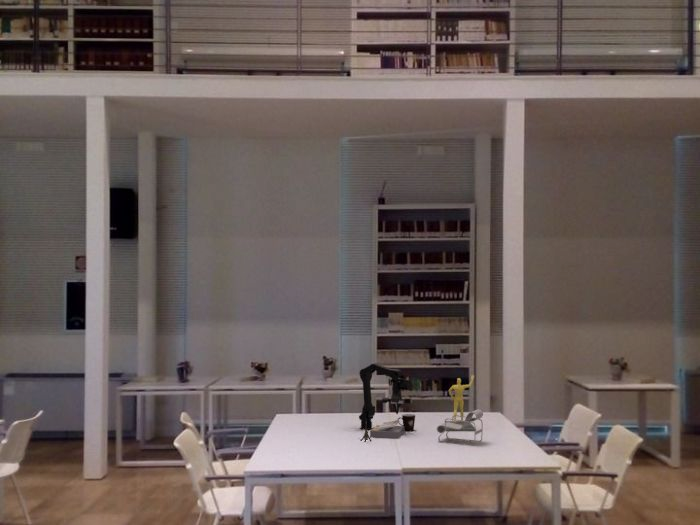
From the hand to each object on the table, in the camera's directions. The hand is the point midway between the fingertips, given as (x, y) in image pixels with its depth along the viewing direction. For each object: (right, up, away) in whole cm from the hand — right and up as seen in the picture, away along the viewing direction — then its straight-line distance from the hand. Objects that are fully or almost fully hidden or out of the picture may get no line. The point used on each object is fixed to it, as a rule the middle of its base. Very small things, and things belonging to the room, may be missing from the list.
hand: (397, 414), depth 515 cm
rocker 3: (-7, -5, -13) cm, 16 cm away
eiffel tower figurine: (-21, -12, -25) cm, 35 cm away
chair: (+36, -12, -29) cm, 48 cm away
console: (-6, -12, -6) cm, 15 cm away
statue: (+42, -13, +16) cm, 47 cm away
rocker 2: (-5, -6, -6) cm, 10 cm away
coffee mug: (+7, -13, +9) cm, 17 cm away
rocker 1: (-4, -6, +1) cm, 7 cm away
